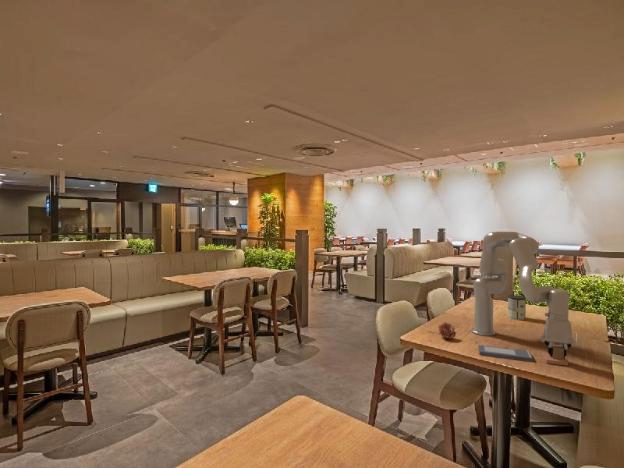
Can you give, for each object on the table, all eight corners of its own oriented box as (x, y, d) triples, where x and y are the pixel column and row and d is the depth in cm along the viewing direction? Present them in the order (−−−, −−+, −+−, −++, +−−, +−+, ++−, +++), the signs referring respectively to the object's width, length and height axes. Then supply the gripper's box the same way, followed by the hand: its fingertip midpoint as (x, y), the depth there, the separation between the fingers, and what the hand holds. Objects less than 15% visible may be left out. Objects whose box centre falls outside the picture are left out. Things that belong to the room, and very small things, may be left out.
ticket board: (478, 347, 180) (478, 344, 180) (528, 354, 172) (528, 350, 172) (479, 354, 171) (479, 351, 171) (532, 361, 163) (532, 357, 163)
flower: (432, 332, 199) (436, 323, 194) (444, 327, 203) (449, 318, 198) (444, 346, 192) (448, 337, 188) (456, 341, 196) (461, 332, 191)
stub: (541, 355, 170) (542, 341, 170) (561, 357, 167) (562, 343, 167) (546, 363, 161) (546, 348, 161) (567, 365, 158) (568, 351, 158)
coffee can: (512, 315, 243) (512, 294, 242) (528, 318, 234) (529, 297, 234) (504, 317, 237) (504, 296, 236) (520, 321, 228) (521, 299, 228)
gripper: (538, 316, 163) (537, 356, 163) (583, 320, 156) (581, 362, 157) (535, 312, 169) (534, 351, 170) (577, 316, 163) (576, 356, 164)
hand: (557, 356), depth 164 cm, fingers closed on stub, 4 cm apart
